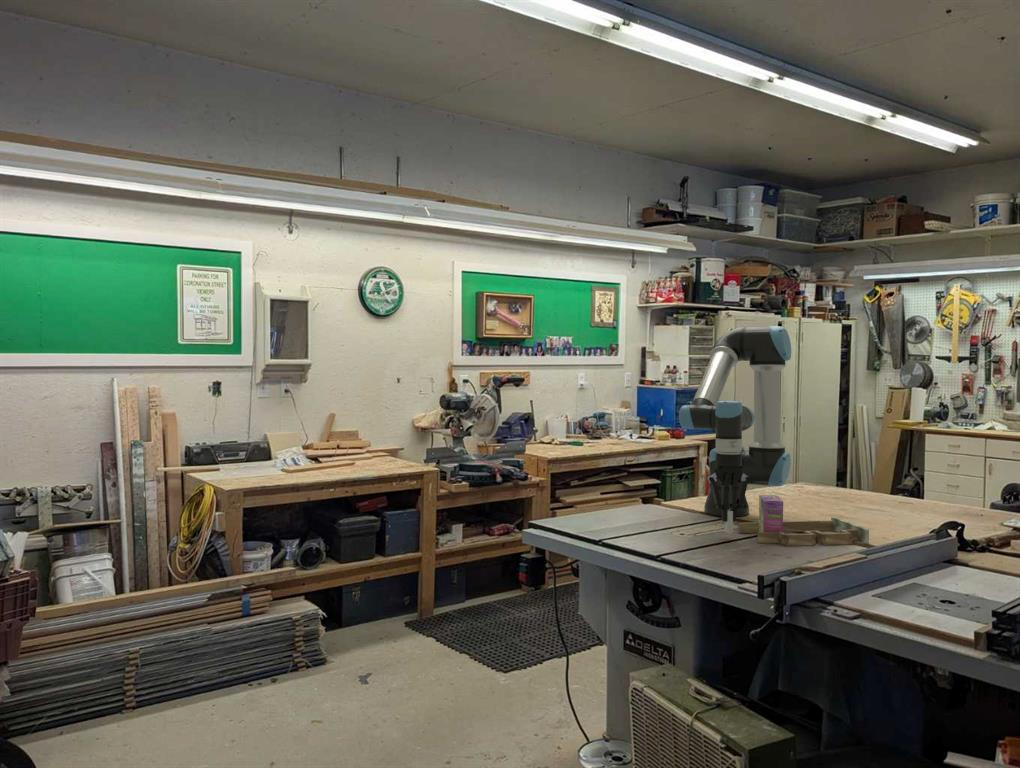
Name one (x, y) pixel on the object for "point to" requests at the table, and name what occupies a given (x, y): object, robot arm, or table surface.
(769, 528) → the box
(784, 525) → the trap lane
